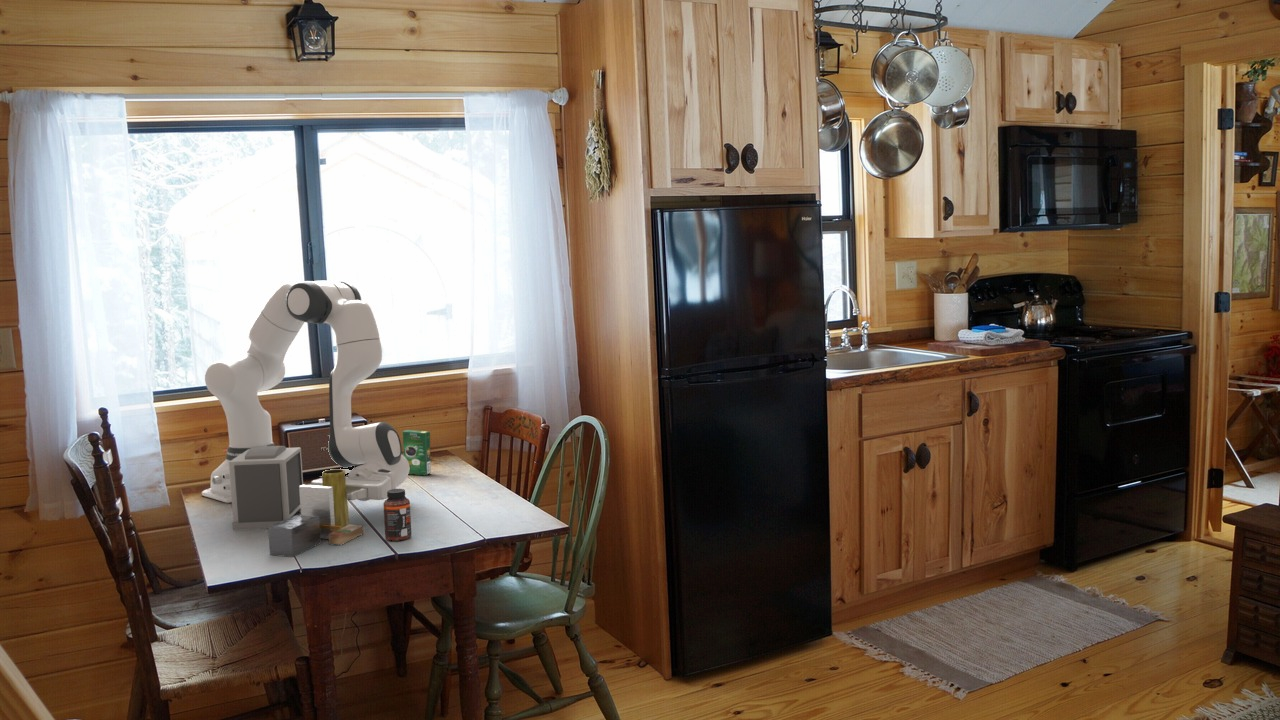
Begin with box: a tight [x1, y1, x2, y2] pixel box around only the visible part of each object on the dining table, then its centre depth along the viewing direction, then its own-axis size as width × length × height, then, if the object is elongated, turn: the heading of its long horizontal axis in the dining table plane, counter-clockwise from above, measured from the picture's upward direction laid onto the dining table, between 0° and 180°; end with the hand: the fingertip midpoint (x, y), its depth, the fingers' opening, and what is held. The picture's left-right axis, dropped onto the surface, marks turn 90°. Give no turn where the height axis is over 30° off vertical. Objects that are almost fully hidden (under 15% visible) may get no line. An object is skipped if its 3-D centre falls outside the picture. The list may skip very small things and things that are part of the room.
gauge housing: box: [267, 514, 321, 557], centre depth 225 cm, size 6×10×6 cm, turn 162°
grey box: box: [229, 445, 304, 531], centre depth 251 cm, size 18×13×18 cm
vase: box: [321, 469, 351, 531], centre depth 240 cm, size 6×6×14 cm
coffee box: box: [402, 429, 432, 476], centre depth 296 cm, size 8×3×13 cm, turn 71°
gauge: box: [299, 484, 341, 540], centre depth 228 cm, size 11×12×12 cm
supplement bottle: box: [383, 488, 412, 542], centre depth 231 cm, size 6×6×11 cm
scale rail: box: [328, 524, 364, 546], centre depth 232 cm, size 3×9×2 cm, turn 162°
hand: (332, 495), depth 239 cm, fingers open, 8 cm apart
